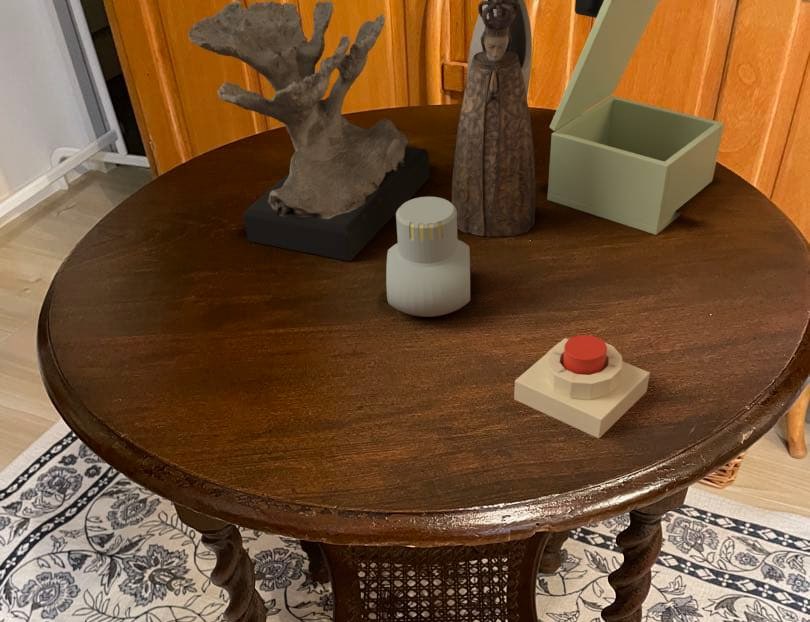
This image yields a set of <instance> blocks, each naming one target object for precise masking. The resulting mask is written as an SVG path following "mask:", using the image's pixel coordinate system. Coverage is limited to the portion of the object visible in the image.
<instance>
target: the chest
mask: <svg viewBox="0 0 810 622" xmlns="http://www.w3.org/2000/svg"><path fill="white" fill-rule="evenodd" d="M724 126H725V123H724V122H721V121H717V120H713V119H709V118H705V117H701V116H697V115H693V114H688V113H684V112H680V111H676V110H672V109H668V108H664V107H660V106H656V105H652V104H647V103H644V102H639V101H636V100H631V99H627V98H623V97H619V96H615V95H610V96H609V97H607V98H606V99H604V100H602V101H601V102H599V103H598V104H596V105H595V106H593V107H592V108H590V109H588V110H587V111H585V112H584V113H582V114H581V115H579V116H578V117H576V118H574V119H573V120H571V121H570V122H568V123H567V124H565V125H564V126H562V127H560V128H559V129H557V130H556V131H553V132H552V133H551V139H550V152H549V153H550V154H549V169H548V182H547V183H548V184H547V185H548V186H547V199H546V200H547V201H549V202H553V203H556V204H559V205H562V206H564V207H569V208H571V209H574V210H577V211H581V212H584V213H587V214H590V215H593V216H596V217H600V218H603V219H605V220H609V221H611V222H615V223H617V224H621V225H623V226H627V227H631V228H633V229H636V230H640V231H643V232H646V233H649V234H652V235H655V236H657V235H658V234H660V232H662V231H663V230H664V229H665V228H666V227H668V226H669V225H670V224H671V223H673V222H674V221H675V220H676V219H677V218H679V217H680V216H681V215H682V214H683V213H681V212H678V211H677V210H678V209H680V208H681V207H683V205H684V204H686V203H687V202H688V201H690V200H691V199H692V198H693V197H695V196H696V195H697V194H698V193H700V192H701V191H702V190H703V189H704V188H706V187H707V186H708V185H709V184H711V183H712V181H713V180H714V174H715V170H716V165H717V160H718V155H719V150H720V145H721V141H722V138H723V137H722V136H723V131H724Z"/></svg>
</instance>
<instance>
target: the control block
mask: <svg viewBox="0 0 810 622" xmlns="http://www.w3.org/2000/svg"><path fill="white" fill-rule="evenodd" d="M569 339H570V338H567V337H565V338H563V339H562V340H561V341H559V342H557V343H556V344H555V345H554V346H553V347H552V348H550V349H549V350H548V351H547V352H546V353H545V355H543V356H542V357H541V358H540V359H538V360H536V362H535V363H534V364H533V365H531V366H530V367H529V368H528V369H527V370H525V371H524V372H523V373H522V374H521V375H520V376H519V377H517V378H516V379H515V380H514V393H513V394H514V396H513V400H515V401H516V402H519V403H521V404H523V405H525V406H528V407H529V408H532V409H534V410H536V411H539V412H540V413H543V414H545V415H547V416H549V417H551V418H554V419H555V420H558V421H560V422H562V423H563V424H566V425H569V426H570V427H573V428H575V429H577V430H579V431H581V432H583V433H586V434H588V435H590V436H592V437H595V438H597V439H600V438H601V437H602V436H603V435H604V434H605V433H606V432H608V430H609V429H610V428H611V427H613V425H614V424H615V423H617V422H618V420H620V418H622V417H623V416H624V415H625V414H626V413H627V412H628V411H629V410H630V409H631V408H632V407H633V406H634V405H635V404H636V403H637V402H638V401H639V400H640V399H641V398H642V397H643V396H644V395H645V394H646V393H647V391H648V385H649V380H650V376H651V375H650V374H651V372H650V371H647V370H645V369H642V368H640V367H638V366H635V365H633V364H630V363H628V362H625V361H623V355H622V354H621V353H620V352H619V351H618V350H617V349H616V347H614V345H611V344H609V343H607V342H605V344H606V346H607V352H606V359H605V366H604V368H603V369H602V370H601V371H600V372H599V373H595V374H591V375H582V374H575V373H573V372H570V371H568V370H567V369H566V368H565V367H564V364H563V358H564V347H565V344H566V342H567V341H568V340H569Z"/></svg>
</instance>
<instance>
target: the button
mask: <svg viewBox="0 0 810 622" xmlns="http://www.w3.org/2000/svg"><path fill="white" fill-rule="evenodd" d="M568 339H569V340H568V341H567V342H566V344H565V347H564V358H563V364H564V367H565V368H566V369H567V370H568V371H570V372H573V373H575V374H582V375H591V374H595V373H599V372H600V371H601V370H602V369H603V368H604V366H605V359H606V352H607V346H606V344H605V343H606V342H605V341H604V340H602V339H601V338H599V337H597V336H594V335H591V334H580V335H576V336H573V337H570V338H568Z"/></svg>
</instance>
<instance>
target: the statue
mask: <svg viewBox="0 0 810 622" xmlns="http://www.w3.org/2000/svg"><path fill="white" fill-rule="evenodd" d="M508 4H511V5H514V9H513V7H511V6H510V5H508ZM483 5H488V6H487V7H486V8H485V9H484V10H482V6H483ZM517 7H518V4H517V2H516V1H514V0H488V1H486V0H481V2H479V3H478V5H477V11H478V12H477V13H478V15H479V14H480V16H481V17H482V20H483V22H484V24H485V30H484V32H483V34H482V36H481V44H482V49H483V52H480V53H477V54H475V55H474V57H473V59H472V64H471V68H470V71H469V76H468V80H467V79H466V80H467V84H466V83H465V88H464V93H463V99H462V102H461V108H460V113H459V119H458V125H457V132H456V141H455V150H454V162H453V168H452V180H451V182H452V183H451V203H452V204H453V205H454V206H455V208H456V210H457V230H459V231H461V232H462V233H466V234H468V233H469V234H471V235H474V236H475V235H476V236H480V237H484V236H486V237H491V238H492V237H493V238H496V237H515V236H519V235H522V234H526V233H528V232H529V231H530V230H531V229H532V228H533V227H534V226H535V221H536V220H535V217H536V215H535V214H536V172H535V171H536V170H535V169H536V168H535V151H534V140H533V131H532V122H531V121H532V120H531V116H530V115H531V114H530V106H529V104H528V95H526V91H525V84H524V79H523V74H522V70H521V66H520V62H519V58H518V55H517V53H515V52H512V51H509V48H510V45H511V42H512V37H511V35H510V33H509V26H510V25H511V23H512V22H513V20H514V18H515V14H516V12H517V9H518V8H517ZM493 9H496V12H497V17H495V16H494V12H493ZM507 10H508V11H509V12H510V14H511V15H510V17H509V18H508V19H505V16H506V11H507ZM488 13H489V15H488V16H489V19H487V14H488Z"/></svg>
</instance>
